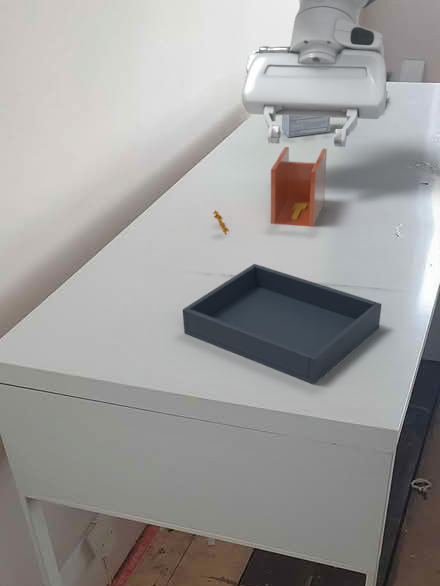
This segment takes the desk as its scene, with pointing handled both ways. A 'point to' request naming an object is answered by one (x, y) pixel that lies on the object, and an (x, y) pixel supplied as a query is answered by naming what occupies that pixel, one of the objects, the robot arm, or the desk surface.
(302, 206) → the key
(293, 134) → the medicine box
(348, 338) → the tray
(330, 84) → the robot arm
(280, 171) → the orange open trough
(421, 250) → the desk surface
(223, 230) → the orange stick
